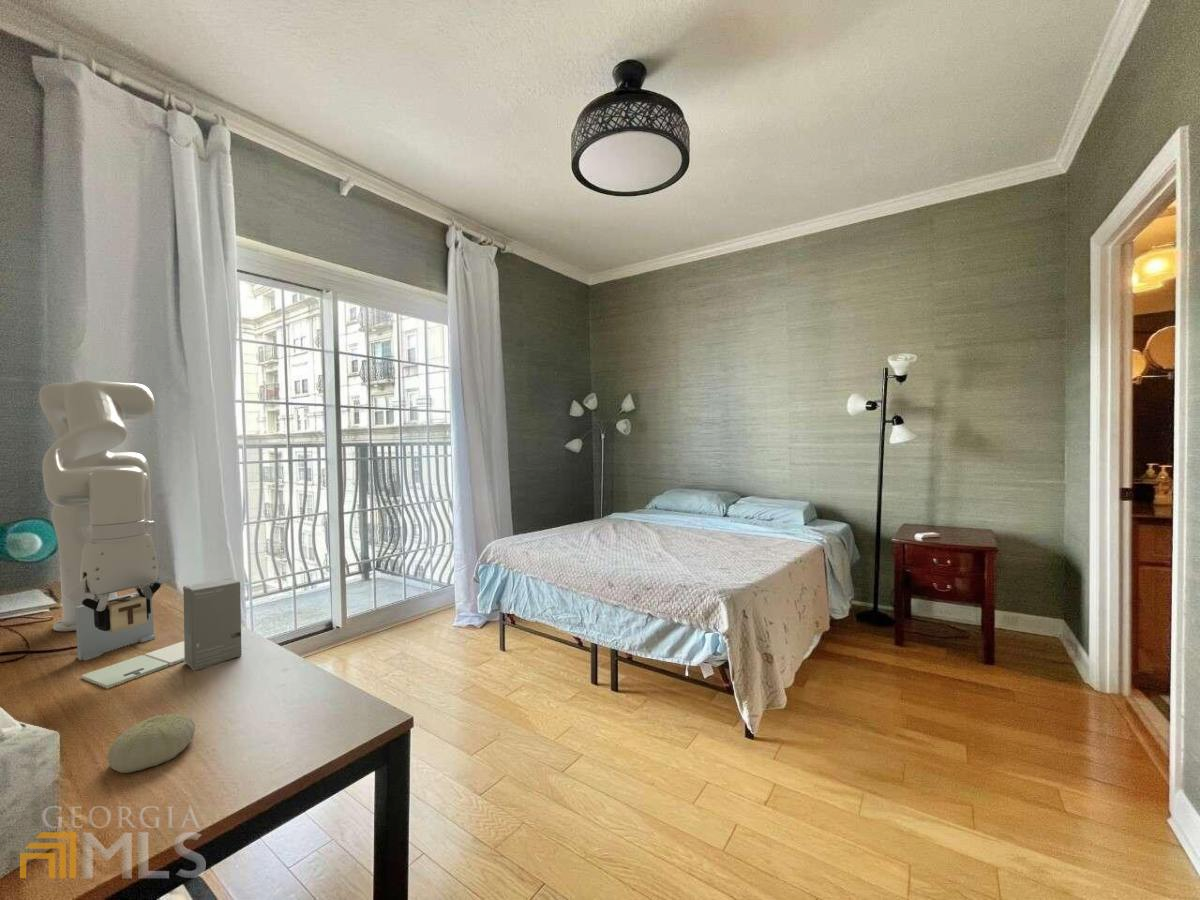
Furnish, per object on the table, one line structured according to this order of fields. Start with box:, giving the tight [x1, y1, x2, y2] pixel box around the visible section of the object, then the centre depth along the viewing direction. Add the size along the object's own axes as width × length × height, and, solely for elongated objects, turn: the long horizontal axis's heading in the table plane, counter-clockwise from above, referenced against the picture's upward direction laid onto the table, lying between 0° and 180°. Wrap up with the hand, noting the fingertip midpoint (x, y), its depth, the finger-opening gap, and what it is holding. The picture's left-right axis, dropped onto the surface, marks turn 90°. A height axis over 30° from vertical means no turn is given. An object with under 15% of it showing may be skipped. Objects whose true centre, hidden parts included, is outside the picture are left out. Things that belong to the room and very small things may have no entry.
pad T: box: [81, 654, 169, 690], centre depth 93 cm, size 10×9×1 cm
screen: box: [75, 591, 156, 661], centre depth 104 cm, size 4×12×11 cm, turn 156°
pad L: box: [144, 640, 185, 666], centre depth 101 cm, size 10×9×1 cm
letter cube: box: [106, 595, 147, 633], centre depth 92 cm, size 5×5×5 cm
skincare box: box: [182, 577, 243, 671], centre depth 98 cm, size 8×7×16 cm
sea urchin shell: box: [107, 713, 196, 774], centre depth 68 cm, size 9×8×8 cm
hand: (123, 623), depth 92 cm, fingers closed on letter cube, 5 cm apart
